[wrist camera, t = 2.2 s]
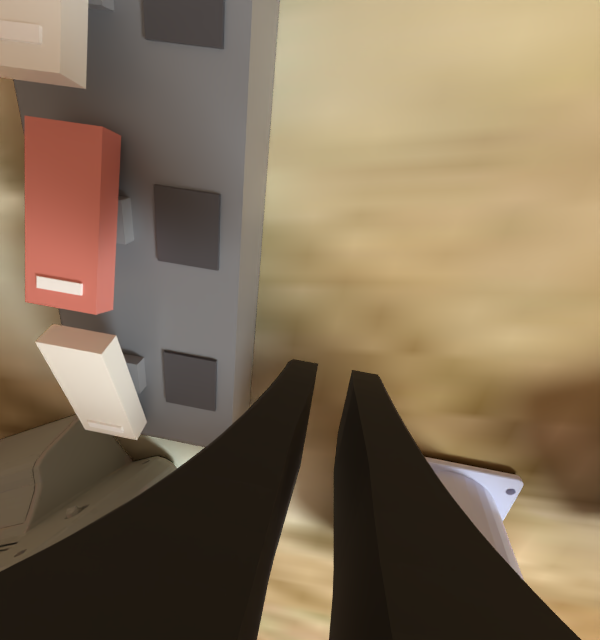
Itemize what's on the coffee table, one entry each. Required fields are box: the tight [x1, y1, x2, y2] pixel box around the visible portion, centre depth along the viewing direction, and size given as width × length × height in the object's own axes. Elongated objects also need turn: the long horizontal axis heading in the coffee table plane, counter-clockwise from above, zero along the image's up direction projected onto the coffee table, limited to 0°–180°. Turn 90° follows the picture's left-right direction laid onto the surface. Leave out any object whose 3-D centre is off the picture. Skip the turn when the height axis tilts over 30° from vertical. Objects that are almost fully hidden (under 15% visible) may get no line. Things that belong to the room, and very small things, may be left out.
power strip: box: [13, 0, 280, 447], centre depth 14 cm, size 26×8×4 cm, turn 173°
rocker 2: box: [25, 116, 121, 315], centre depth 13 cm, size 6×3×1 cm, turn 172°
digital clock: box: [0, 414, 177, 571], centre depth 22 cm, size 16×9×11 cm, turn 103°
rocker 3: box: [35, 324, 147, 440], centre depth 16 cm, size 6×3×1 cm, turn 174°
